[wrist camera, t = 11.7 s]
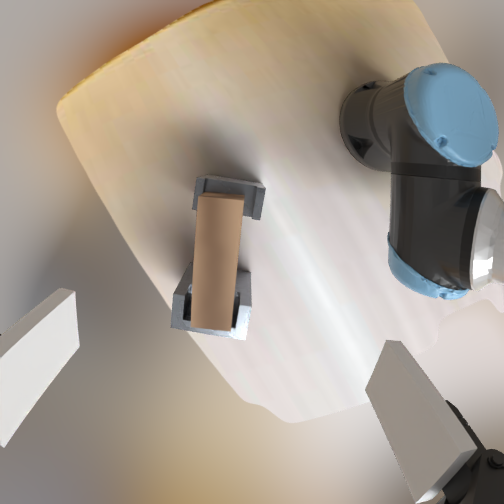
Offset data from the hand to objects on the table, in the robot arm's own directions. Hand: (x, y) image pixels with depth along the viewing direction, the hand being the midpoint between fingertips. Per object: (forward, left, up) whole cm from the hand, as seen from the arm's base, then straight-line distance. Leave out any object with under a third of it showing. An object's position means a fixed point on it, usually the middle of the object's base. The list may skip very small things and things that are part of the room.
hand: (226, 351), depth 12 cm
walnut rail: (+2, +5, -30) cm, 30 cm away
